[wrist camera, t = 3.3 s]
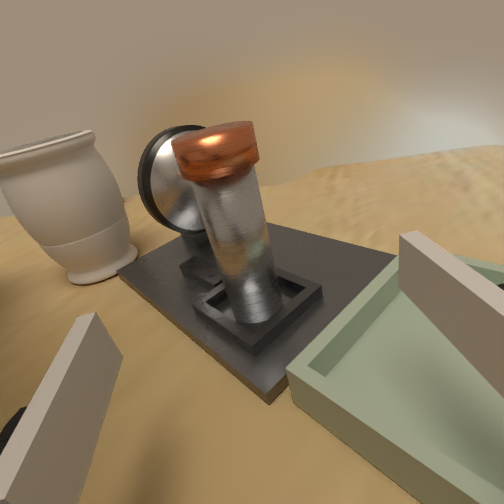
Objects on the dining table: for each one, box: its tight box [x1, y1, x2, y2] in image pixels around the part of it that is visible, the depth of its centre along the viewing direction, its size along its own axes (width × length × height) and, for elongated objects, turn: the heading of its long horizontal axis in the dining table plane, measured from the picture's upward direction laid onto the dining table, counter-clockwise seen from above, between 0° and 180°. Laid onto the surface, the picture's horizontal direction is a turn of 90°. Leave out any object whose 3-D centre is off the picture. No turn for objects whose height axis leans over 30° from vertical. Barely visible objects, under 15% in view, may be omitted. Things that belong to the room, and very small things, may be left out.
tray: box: [285, 253, 504, 504], centre depth 15 cm, size 14×14×3 cm
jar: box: [0, 130, 138, 284], centre depth 35 cm, size 11×10×15 cm
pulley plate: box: [116, 125, 397, 405], centre depth 27 cm, size 24×16×14 cm, turn 43°
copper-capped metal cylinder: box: [170, 121, 282, 323], centre depth 21 cm, size 5×5×13 cm
